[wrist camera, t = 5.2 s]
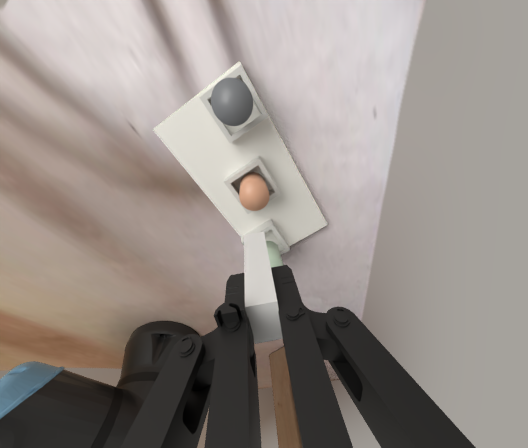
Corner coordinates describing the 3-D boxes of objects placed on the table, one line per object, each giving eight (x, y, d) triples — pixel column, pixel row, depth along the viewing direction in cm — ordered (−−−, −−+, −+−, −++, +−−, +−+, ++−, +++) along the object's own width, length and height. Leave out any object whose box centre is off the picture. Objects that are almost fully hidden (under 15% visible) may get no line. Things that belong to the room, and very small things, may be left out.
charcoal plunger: (231, 131, 23) (227, 134, 19) (210, 100, 21) (201, 94, 17) (257, 112, 22) (261, 110, 18) (238, 78, 21) (237, 67, 16)
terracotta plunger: (249, 201, 30) (250, 216, 25) (234, 181, 28) (233, 193, 24) (270, 188, 29) (275, 200, 25) (256, 167, 28) (258, 176, 23)
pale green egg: (263, 264, 32) (266, 287, 27) (250, 248, 30) (251, 270, 26) (283, 253, 31) (289, 275, 27) (271, 236, 30) (275, 256, 25)
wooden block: (297, 337, 48) (323, 445, 32) (308, 345, 50) (337, 451, 34) (268, 354, 50) (279, 463, 34) (279, 361, 52) (294, 468, 36)
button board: (260, 258, 37) (262, 269, 34) (156, 129, 26) (145, 130, 23) (325, 221, 34) (332, 230, 32) (239, 63, 24) (239, 56, 21)
